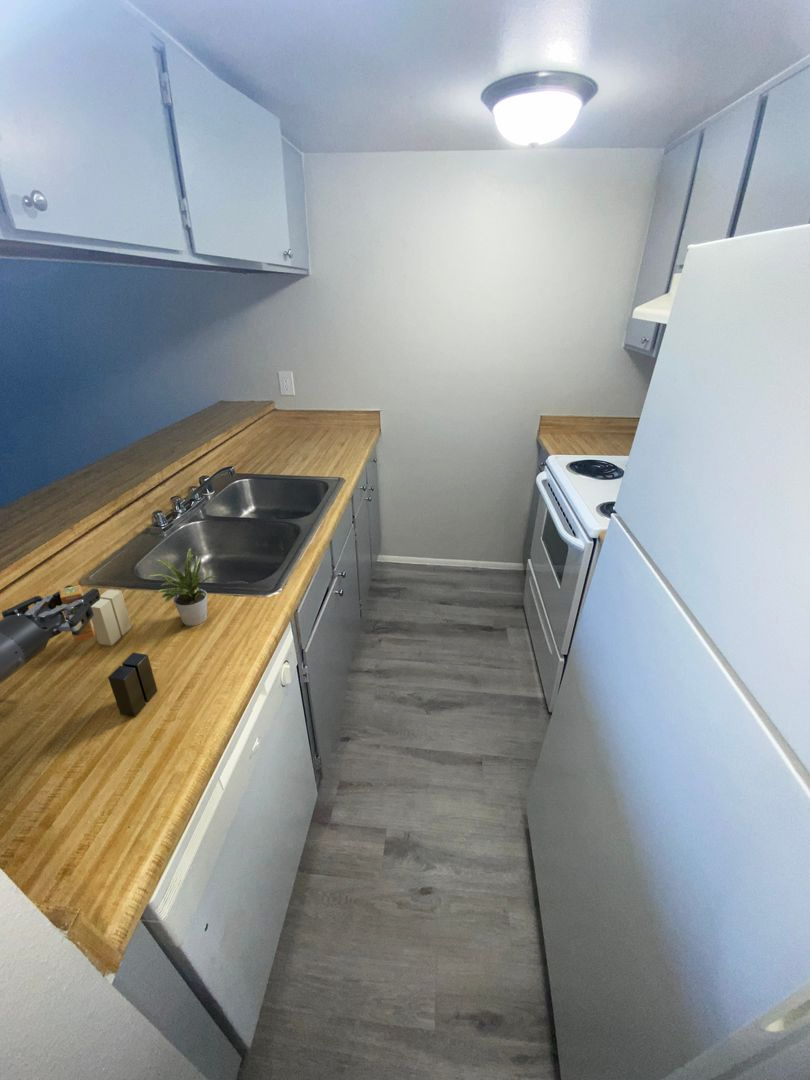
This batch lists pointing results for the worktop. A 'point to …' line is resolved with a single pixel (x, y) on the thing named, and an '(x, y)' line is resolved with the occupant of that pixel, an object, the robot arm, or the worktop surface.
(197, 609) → the house plant
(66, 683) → the worktop surface
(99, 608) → the cream boxes
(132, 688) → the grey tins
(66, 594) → the supplement box
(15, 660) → the robot arm
